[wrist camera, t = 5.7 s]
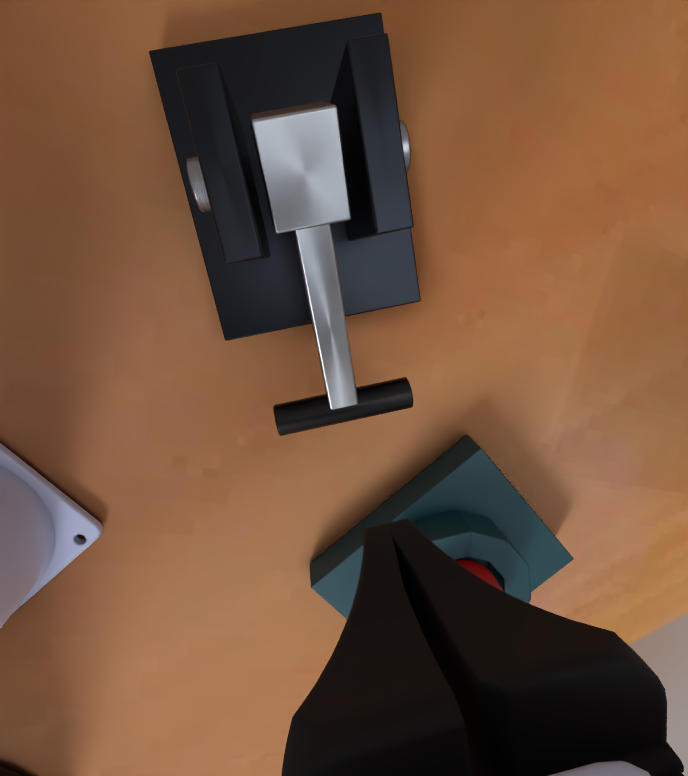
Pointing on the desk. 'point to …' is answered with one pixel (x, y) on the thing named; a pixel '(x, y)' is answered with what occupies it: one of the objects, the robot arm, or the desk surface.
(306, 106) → the switch lever
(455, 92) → the desk surface
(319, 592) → the button box
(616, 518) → the desk surface
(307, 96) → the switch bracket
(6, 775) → the ink bottle
